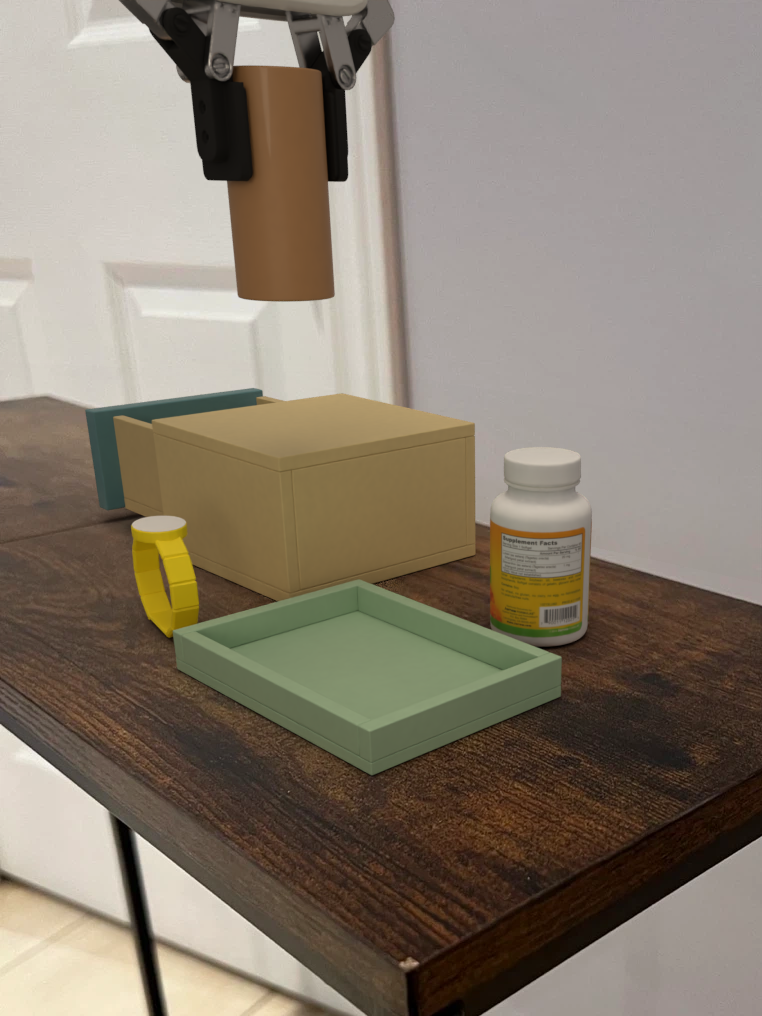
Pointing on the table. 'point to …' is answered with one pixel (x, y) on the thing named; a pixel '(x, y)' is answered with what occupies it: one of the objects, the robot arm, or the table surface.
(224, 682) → the tray
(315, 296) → the paper roll
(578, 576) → the supplement bottle
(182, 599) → the watch
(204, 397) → the drawer
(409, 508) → the cabinet
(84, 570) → the table surface
